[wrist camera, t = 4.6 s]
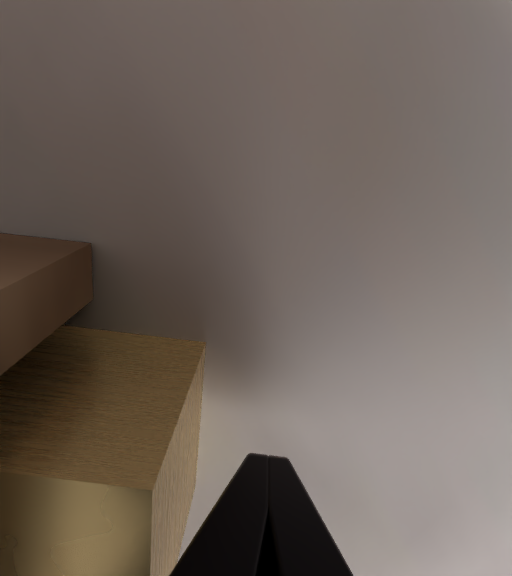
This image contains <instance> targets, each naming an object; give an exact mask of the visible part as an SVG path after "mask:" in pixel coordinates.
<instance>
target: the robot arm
mask: <svg viewBox="0 0 512 576" xmlns="http://www.w3.org/2000/svg"><path fill="white" fill-rule="evenodd" d="M169 576H353V574H352V572H351V570H350V568H349V567H348V565H347V563H346V561H345V559H344V558H343V556H342V554H341V552H340V550H339V549H338V547H337V545H336V543H335V541H334V540H333V538H332V536H331V534H330V532H329V531H328V529H327V527H326V525H325V523H324V522H323V520H322V518H321V516H320V514H319V513H318V511H317V509H316V507H315V505H314V504H313V502H312V500H311V498H310V496H309V495H308V493H307V491H306V489H305V487H304V486H303V484H302V482H301V480H300V478H299V477H298V475H297V473H296V471H295V469H294V468H293V466H292V464H291V462H290V461H289V459H288V458H286V457H280V456H272V455H269V456H268V455H264V454H256V453H249V454H248V455H247V456H246V458H245V459H244V461H243V462H242V464H241V465H240V467H239V468H238V470H237V472H236V473H235V475H234V476H233V478H232V479H231V481H230V482H229V484H228V485H227V487H226V488H225V490H224V492H223V493H222V495H221V496H220V498H219V499H218V501H217V502H216V504H215V505H214V507H213V509H212V510H211V512H210V513H209V515H208V516H207V518H206V519H205V521H204V522H203V524H202V526H201V527H200V529H199V530H198V532H197V533H196V535H195V536H194V538H193V539H192V541H191V543H190V544H189V546H188V547H187V549H186V550H185V552H184V553H183V555H182V556H181V558H180V560H179V561H178V563H177V564H176V566H175V567H174V569H173V570H172V572H171V573H170V575H169Z"/></svg>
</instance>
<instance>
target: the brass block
mask: <svg viewBox="0 0 512 576" xmlns="http://www.w3.org/2000/svg"><path fill="white" fill-rule="evenodd" d="M205 349H206V342H198V341H189V340H181V339H173V338H164V337H156V336H148V335H139V334H131V333H123V332H114V331H106V330H98V329H89V328H81V327H73V326H64V325H61V326H60V327H59V328H58V329H56V330H55V331H54V332H53V333H51V334H50V335H49V336H48V337H47V338H45V339H44V340H43V341H42V342H41V343H39V344H38V345H37V346H36V347H34V348H33V349H32V350H31V351H30V352H28V353H27V354H26V355H25V356H24V357H22V358H21V359H20V360H19V361H18V362H16V363H15V364H14V365H13V366H11V367H10V368H9V369H8V370H7V371H5V372H4V373H3V374H2V375H1V376H0V576H169V575H170V573H171V572H172V570H173V569H174V567H175V566H176V564H177V560H178V556H179V552H180V548H181V544H182V539H183V535H184V531H185V527H186V523H187V519H188V514H189V510H190V506H191V502H192V498H193V493H194V489H195V484H196V470H197V457H198V443H199V430H200V417H201V403H202V390H203V376H204V363H205Z"/></svg>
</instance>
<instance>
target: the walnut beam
mask: <svg viewBox="0 0 512 576" xmlns="http://www.w3.org/2000/svg"><path fill="white" fill-rule="evenodd" d="M92 300H93V279H92V252H91V243H85V242H76V241H67V240H57V239H48V238H39V237H30V236H21V235H12V234H3V233H0V376H1V375H2V374H3V373H4V372H5V371H7V370H8V369H9V368H10V367H11V366H13V365H14V364H15V363H16V362H18V361H19V360H20V359H21V358H22V357H24V356H25V355H26V354H27V353H28V352H30V351H31V350H32V349H33V348H34V347H36V346H37V345H38V344H39V343H41V342H42V341H43V340H44V339H45V338H47V337H48V336H49V335H50V334H51V333H53V332H54V331H55V330H56V329H58V328H59V327H60V326H61V325H62V324H64V323H65V322H66V321H67V320H68V319H70V318H71V317H72V316H73V315H75V314H76V313H77V312H78V311H79V310H81V309H82V308H83V307H84V306H85V305H87V304H88V303H89V302H90V301H92Z"/></svg>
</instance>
